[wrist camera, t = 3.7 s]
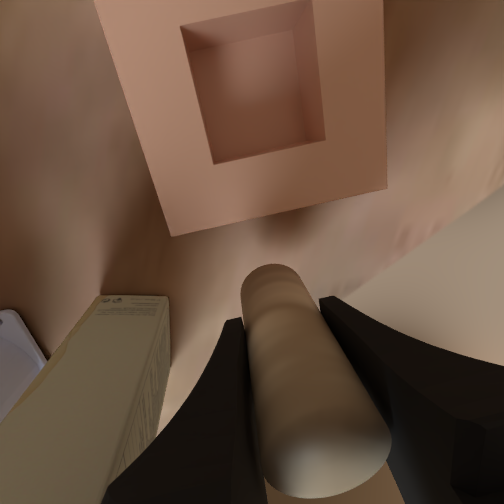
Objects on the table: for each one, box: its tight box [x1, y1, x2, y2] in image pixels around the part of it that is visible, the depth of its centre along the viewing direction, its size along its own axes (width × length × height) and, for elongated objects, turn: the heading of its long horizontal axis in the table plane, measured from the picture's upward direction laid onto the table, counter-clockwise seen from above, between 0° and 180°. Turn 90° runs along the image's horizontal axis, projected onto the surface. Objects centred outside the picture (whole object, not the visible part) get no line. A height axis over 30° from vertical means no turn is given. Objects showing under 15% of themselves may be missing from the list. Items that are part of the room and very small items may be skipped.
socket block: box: [94, 0, 387, 237], centre depth 12 cm, size 10×10×4 cm
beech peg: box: [241, 264, 392, 498], centre depth 10 cm, size 3×3×8 cm
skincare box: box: [0, 295, 170, 504], centre depth 13 cm, size 6×4×12 cm
